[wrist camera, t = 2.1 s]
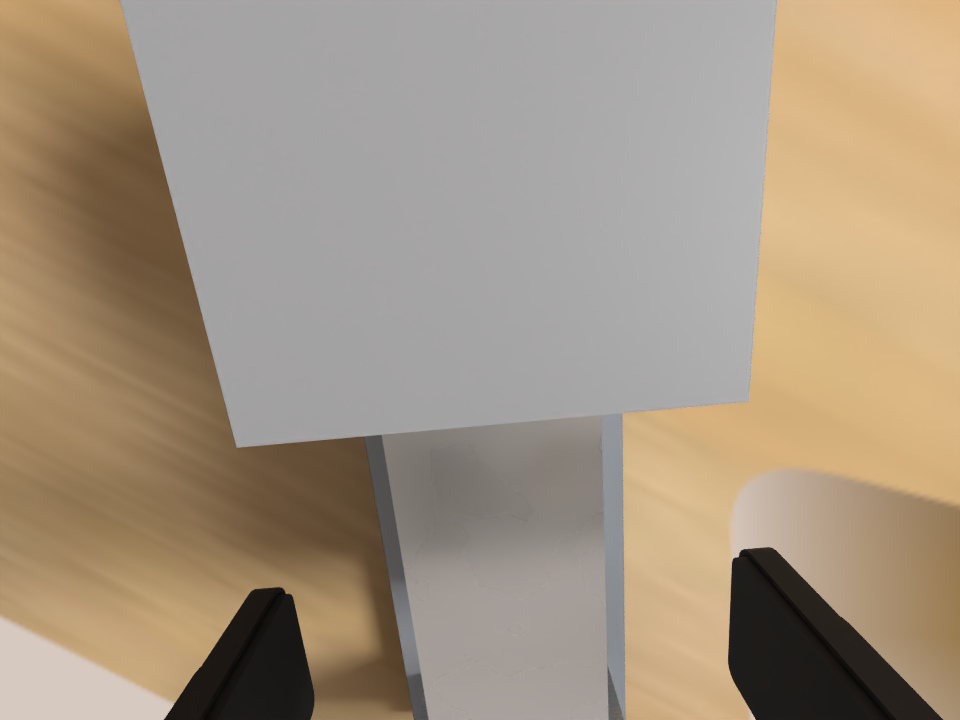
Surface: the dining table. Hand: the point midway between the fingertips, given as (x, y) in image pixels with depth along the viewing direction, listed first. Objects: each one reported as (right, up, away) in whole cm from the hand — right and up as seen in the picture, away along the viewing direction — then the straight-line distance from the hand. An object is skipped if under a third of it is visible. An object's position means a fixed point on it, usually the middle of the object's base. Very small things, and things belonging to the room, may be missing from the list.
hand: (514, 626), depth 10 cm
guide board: (0, +3, +6) cm, 7 cm away
